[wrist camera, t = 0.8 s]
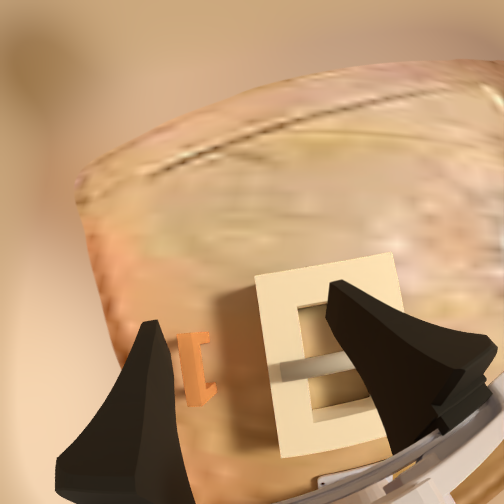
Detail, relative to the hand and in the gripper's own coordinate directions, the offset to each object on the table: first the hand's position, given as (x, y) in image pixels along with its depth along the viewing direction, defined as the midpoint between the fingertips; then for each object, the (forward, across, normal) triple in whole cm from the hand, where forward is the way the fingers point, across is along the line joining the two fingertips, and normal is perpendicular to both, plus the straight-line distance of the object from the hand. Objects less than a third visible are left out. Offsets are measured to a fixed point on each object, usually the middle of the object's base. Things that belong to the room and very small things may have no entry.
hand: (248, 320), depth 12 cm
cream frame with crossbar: (+6, -9, +13) cm, 17 cm away
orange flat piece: (+10, +3, +14) cm, 17 cm away
